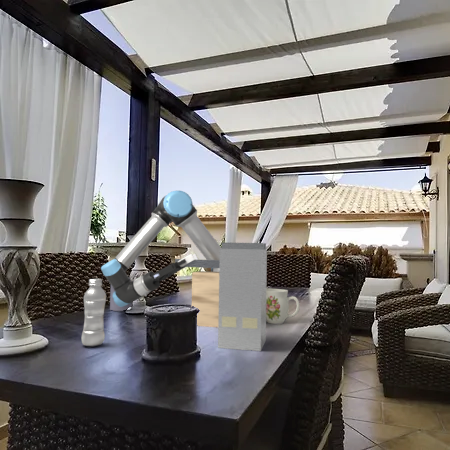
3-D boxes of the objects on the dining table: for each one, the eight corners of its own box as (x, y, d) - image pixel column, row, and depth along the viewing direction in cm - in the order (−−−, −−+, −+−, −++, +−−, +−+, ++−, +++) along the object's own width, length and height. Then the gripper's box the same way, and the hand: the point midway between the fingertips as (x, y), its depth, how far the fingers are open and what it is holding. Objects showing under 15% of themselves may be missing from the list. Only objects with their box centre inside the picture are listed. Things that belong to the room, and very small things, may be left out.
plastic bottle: (80, 344, 116) (83, 278, 117) (103, 342, 119) (105, 278, 120) (81, 349, 110) (84, 280, 111) (105, 347, 113) (108, 280, 114)
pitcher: (296, 327, 147) (297, 291, 148) (252, 322, 154) (253, 288, 154) (301, 322, 157) (301, 288, 158) (260, 318, 164) (260, 286, 165)
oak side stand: (197, 321, 155) (198, 271, 157) (240, 323, 151) (241, 272, 153) (191, 325, 147) (192, 272, 148) (236, 328, 143) (237, 273, 144)
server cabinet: (227, 338, 127) (228, 243, 129) (265, 340, 124) (266, 243, 126) (217, 348, 114) (219, 242, 116) (260, 351, 111) (261, 242, 113)
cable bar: (178, 266, 156) (178, 258, 156) (235, 268, 151) (235, 260, 151) (174, 266, 152) (175, 259, 152) (232, 268, 147) (233, 260, 147)
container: (118, 312, 173) (120, 279, 174) (105, 309, 179) (106, 278, 180) (136, 309, 181) (137, 278, 182) (123, 307, 187) (124, 277, 188)
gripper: (159, 289, 164) (205, 263, 160) (142, 293, 147) (192, 265, 144) (152, 273, 165) (197, 248, 162) (134, 276, 149) (183, 248, 145)
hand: (194, 256), depth 153 cm, fingers closed on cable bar, 4 cm apart
